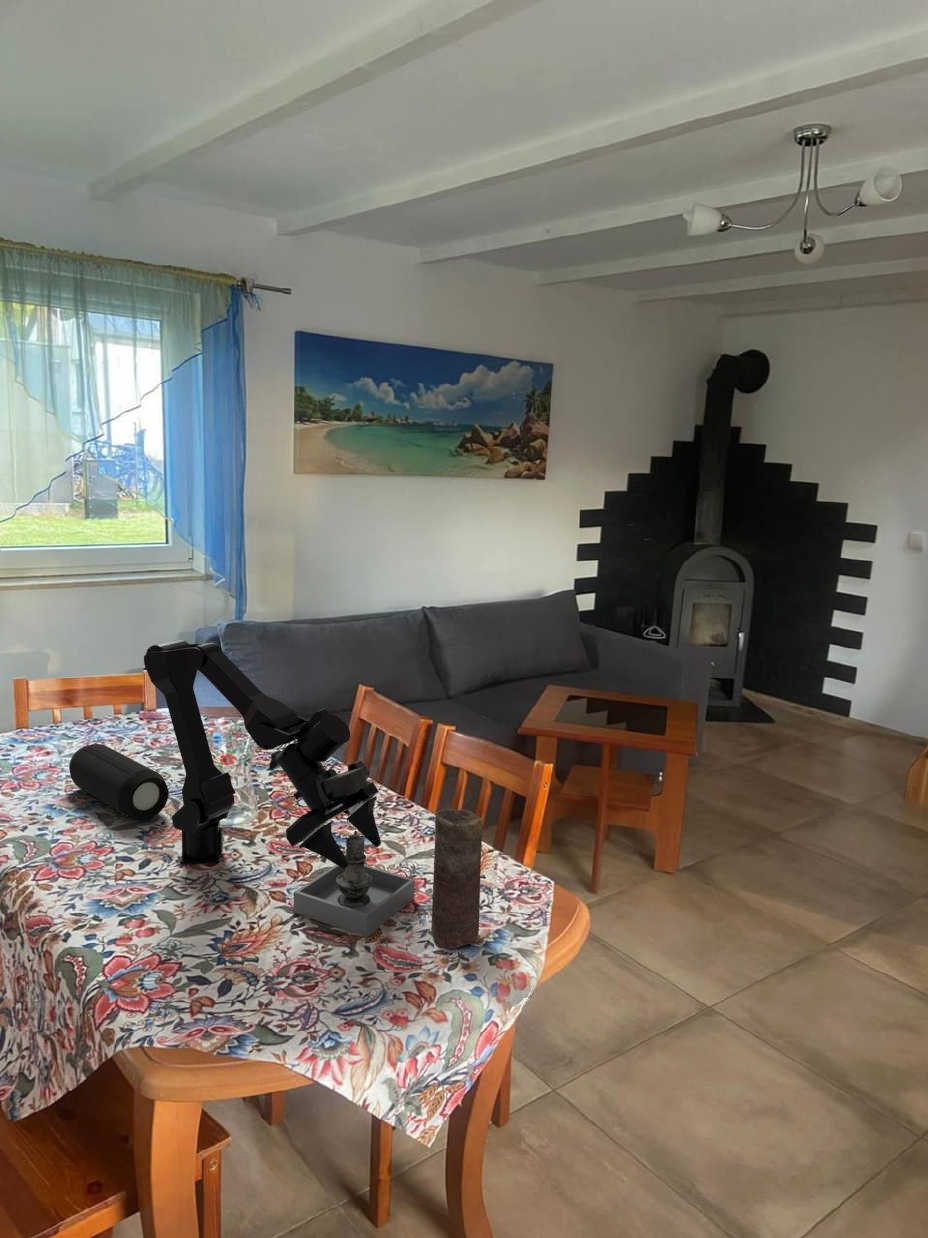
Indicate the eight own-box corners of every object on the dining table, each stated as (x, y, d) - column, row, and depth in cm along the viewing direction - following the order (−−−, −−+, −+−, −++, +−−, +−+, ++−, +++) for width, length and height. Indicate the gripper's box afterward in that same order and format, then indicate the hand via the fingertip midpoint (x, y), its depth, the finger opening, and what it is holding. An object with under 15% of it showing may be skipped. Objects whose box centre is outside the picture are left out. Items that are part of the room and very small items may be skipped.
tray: (293, 912, 143) (293, 892, 143) (344, 877, 156) (345, 858, 155) (366, 937, 137) (367, 916, 136) (414, 899, 149) (414, 879, 149)
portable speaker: (173, 816, 178) (172, 768, 176) (125, 830, 171) (124, 780, 169) (110, 780, 195) (109, 736, 193) (65, 792, 188) (63, 746, 186)
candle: (429, 924, 142) (434, 804, 138) (475, 924, 142) (481, 805, 139) (431, 951, 134) (437, 825, 130) (480, 950, 135) (487, 825, 131)
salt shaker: (374, 907, 144) (376, 837, 142) (337, 910, 143) (339, 839, 140) (369, 890, 150) (371, 822, 147) (334, 892, 148) (335, 824, 146)
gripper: (301, 766, 135) (360, 853, 132) (370, 735, 151) (424, 811, 148) (260, 804, 140) (316, 888, 137) (331, 769, 156) (383, 844, 154)
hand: (363, 856), depth 144 cm, fingers open, 9 cm apart
